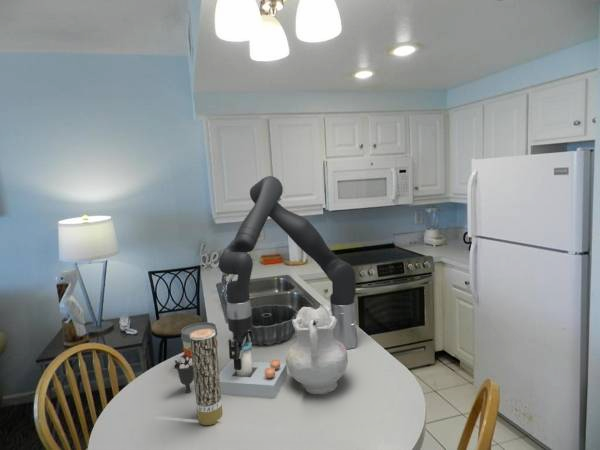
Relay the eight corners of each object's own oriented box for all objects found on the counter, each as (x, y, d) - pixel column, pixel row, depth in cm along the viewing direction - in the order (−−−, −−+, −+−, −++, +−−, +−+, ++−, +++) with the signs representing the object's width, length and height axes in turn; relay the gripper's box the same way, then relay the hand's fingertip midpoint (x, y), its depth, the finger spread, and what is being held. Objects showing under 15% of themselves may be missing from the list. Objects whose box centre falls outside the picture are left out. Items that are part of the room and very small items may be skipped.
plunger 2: (281, 371, 128) (281, 359, 127) (279, 376, 125) (278, 364, 124) (272, 371, 129) (271, 359, 128) (269, 375, 125) (268, 364, 125)
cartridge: (256, 379, 129) (253, 339, 127) (250, 388, 123) (247, 347, 122) (240, 378, 130) (237, 339, 128) (234, 387, 124) (230, 346, 123)
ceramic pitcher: (357, 404, 115) (359, 321, 112) (291, 409, 112) (292, 324, 109) (338, 370, 136) (339, 300, 134) (282, 374, 133) (282, 302, 130)
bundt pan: (271, 356, 148) (269, 330, 147) (223, 342, 164) (221, 319, 163) (311, 332, 169) (310, 309, 168) (266, 322, 185) (264, 301, 184)
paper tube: (200, 413, 113) (192, 329, 110) (224, 410, 114) (216, 327, 111) (196, 427, 106) (187, 339, 104) (221, 425, 107) (213, 337, 104)
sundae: (203, 390, 126) (199, 345, 124) (191, 401, 120) (186, 354, 118) (186, 388, 128) (181, 344, 126) (173, 399, 122) (168, 352, 120)
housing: (287, 378, 131) (286, 363, 130) (275, 401, 117) (273, 385, 116) (231, 374, 135) (230, 360, 135) (213, 396, 122) (212, 381, 121)
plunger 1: (277, 380, 122) (276, 367, 122) (273, 385, 119) (273, 372, 119) (267, 379, 123) (266, 367, 123) (263, 384, 120) (263, 372, 120)
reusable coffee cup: (227, 363, 144) (223, 323, 143) (205, 379, 133) (201, 337, 131) (199, 358, 150) (196, 320, 148) (176, 374, 138) (172, 333, 137)
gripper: (242, 322, 116) (246, 374, 118) (258, 307, 130) (261, 354, 132) (218, 321, 118) (222, 373, 120) (237, 306, 132) (240, 353, 134)
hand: (243, 363), depth 126 cm, fingers open, 8 cm apart
